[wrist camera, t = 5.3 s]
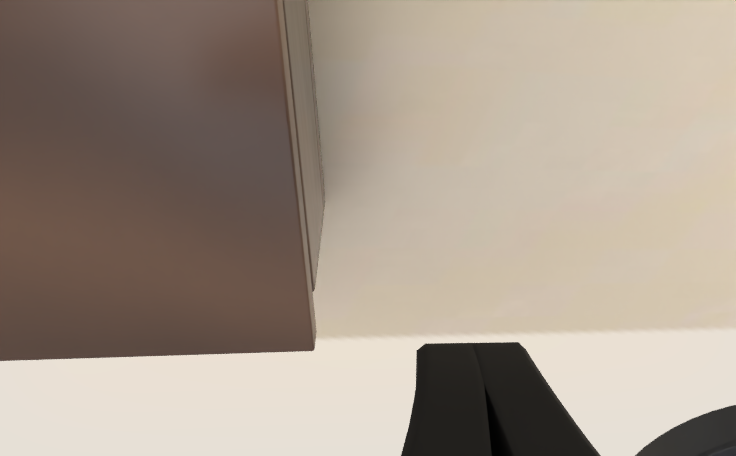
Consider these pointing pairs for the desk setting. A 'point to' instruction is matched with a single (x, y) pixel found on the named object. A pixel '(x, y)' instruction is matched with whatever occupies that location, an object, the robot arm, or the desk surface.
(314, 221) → the box
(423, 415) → the robot arm
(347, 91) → the desk surface
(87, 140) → the lid
